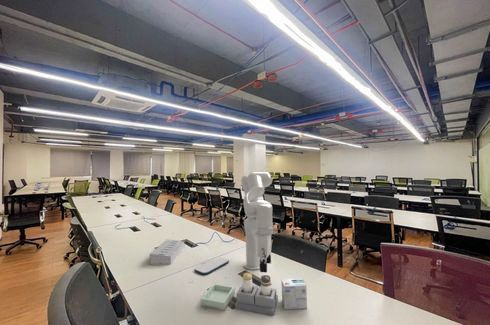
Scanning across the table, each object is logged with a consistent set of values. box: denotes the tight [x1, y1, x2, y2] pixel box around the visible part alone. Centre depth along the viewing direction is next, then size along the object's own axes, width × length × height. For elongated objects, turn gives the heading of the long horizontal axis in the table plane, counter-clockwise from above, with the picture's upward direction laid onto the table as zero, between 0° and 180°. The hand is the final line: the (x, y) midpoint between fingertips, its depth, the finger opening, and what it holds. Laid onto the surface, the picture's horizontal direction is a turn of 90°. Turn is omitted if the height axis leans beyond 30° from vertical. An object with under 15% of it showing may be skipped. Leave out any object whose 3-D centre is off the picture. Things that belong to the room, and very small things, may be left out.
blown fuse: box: [260, 274, 272, 297], centre depth 101 cm, size 4×4×11 cm
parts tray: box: [200, 283, 236, 312], centre depth 106 cm, size 14×12×4 cm
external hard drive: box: [194, 256, 229, 276], centre depth 142 cm, size 24×12×2 cm, turn 143°
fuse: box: [242, 272, 253, 294], centre depth 104 cm, size 4×4×11 cm
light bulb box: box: [280, 277, 308, 310], centre depth 101 cm, size 11×7×11 cm, turn 92°
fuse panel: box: [234, 283, 279, 316], centre depth 102 cm, size 12×18×6 cm, turn 73°
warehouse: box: [149, 239, 185, 265], centre depth 162 cm, size 30×14×8 cm, turn 178°
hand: (265, 267), depth 101 cm, fingers open, 9 cm apart
